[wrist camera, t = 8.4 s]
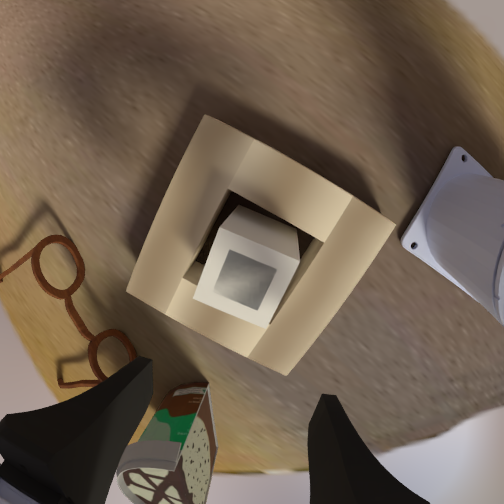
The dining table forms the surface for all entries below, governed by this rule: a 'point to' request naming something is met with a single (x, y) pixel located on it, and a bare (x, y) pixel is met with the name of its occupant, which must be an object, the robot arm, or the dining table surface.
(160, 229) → the holder
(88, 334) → the glasses
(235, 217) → the connector plug
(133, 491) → the food container
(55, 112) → the dining table surface
